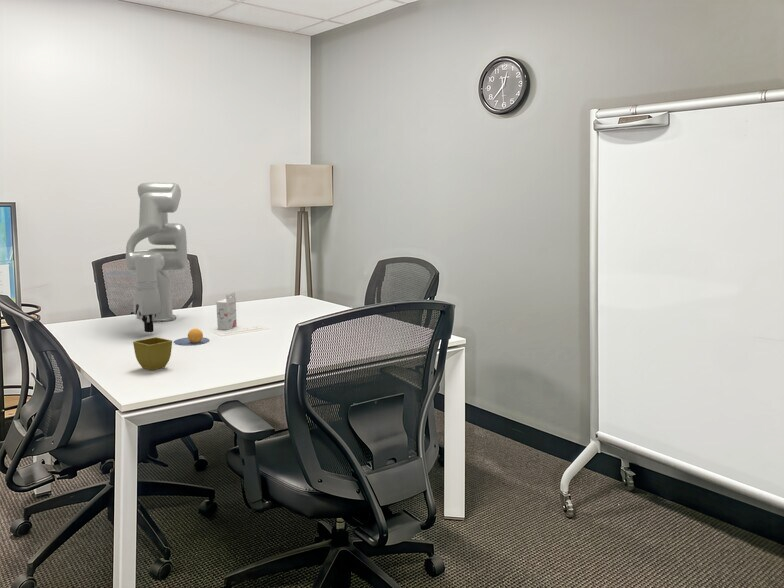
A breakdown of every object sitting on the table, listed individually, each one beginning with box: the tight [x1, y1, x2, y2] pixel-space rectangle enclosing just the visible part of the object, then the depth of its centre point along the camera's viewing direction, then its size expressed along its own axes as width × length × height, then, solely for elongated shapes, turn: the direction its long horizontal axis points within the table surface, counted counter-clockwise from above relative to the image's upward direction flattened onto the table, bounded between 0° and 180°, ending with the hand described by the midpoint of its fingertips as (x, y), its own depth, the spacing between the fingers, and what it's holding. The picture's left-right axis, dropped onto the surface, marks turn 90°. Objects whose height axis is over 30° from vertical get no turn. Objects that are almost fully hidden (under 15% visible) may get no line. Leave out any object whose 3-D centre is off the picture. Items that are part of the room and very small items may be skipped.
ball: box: [187, 328, 204, 343], centre depth 238 cm, size 6×6×6 cm
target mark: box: [173, 336, 210, 346], centre depth 241 cm, size 13×13×1 cm
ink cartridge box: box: [215, 292, 238, 331], centre depth 265 cm, size 9×5×15 cm, turn 168°
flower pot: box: [132, 336, 173, 371], centre depth 203 cm, size 9×9×9 cm
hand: (149, 331), depth 250 cm, fingers closed
